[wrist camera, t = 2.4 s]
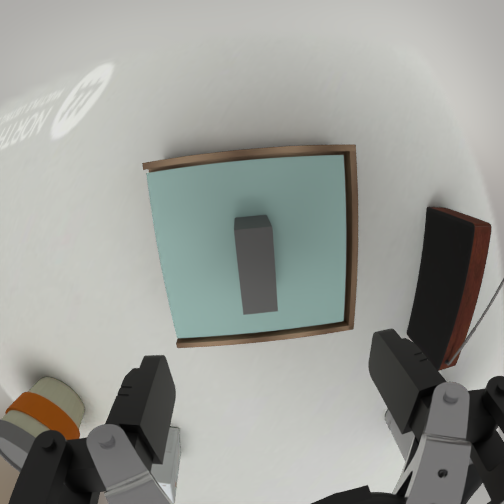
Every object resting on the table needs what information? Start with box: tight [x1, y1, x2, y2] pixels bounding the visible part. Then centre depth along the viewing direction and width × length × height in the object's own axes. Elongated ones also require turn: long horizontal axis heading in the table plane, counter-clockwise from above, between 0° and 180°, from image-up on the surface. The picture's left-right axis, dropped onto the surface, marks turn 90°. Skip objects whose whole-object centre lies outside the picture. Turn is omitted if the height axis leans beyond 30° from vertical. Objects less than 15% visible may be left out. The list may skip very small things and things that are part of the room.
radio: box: [407, 207, 504, 371], centre depth 24 cm, size 19×3×15 cm, turn 2°
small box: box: [151, 427, 181, 504], centre depth 33 cm, size 8×6×10 cm
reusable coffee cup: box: [0, 377, 84, 472], centre depth 28 cm, size 12×13×15 cm
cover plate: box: [147, 155, 346, 338], centre depth 22 cm, size 15×14×5 cm
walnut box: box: [142, 145, 358, 348], centre depth 26 cm, size 16×16×6 cm
